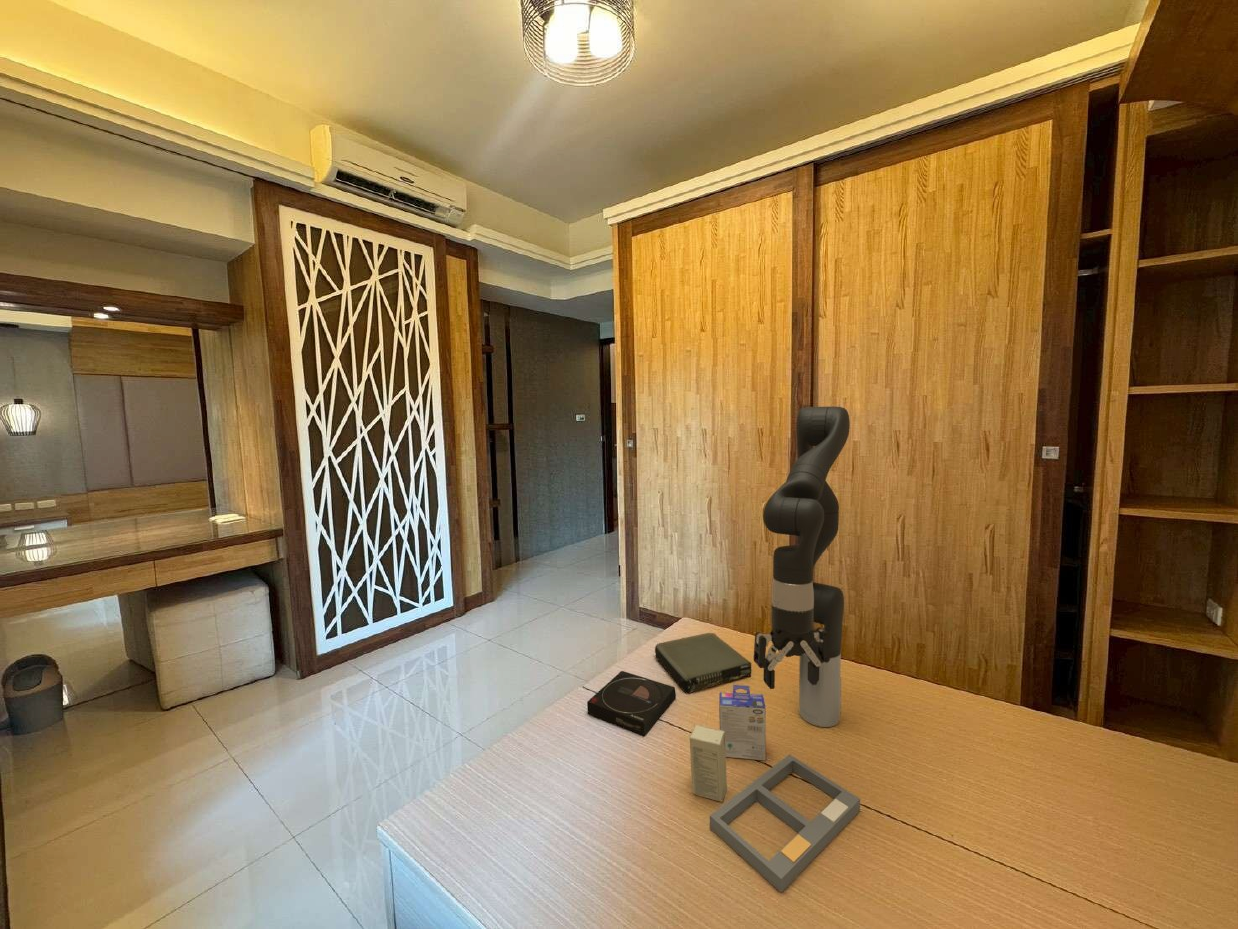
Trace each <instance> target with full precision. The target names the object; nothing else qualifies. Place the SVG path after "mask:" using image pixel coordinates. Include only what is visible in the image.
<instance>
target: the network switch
mask: <svg viewBox="0 0 1238 929" xmlns="http://www.w3.org/2000/svg"><path fill="white" fill-rule="evenodd" d="M654 653H655V658H656V659H657V661H658V662H659V663H660V664H661V666H662V667H664V669H665V670H666V671H667V672H668V673H669V675H670V676H671V678H672V679H674V681H675V682H676V684H678V686H679V688H681V689H682V691H683V692H684V693H685V694H690V693H693V692H696V691H699V690H703V689H704V688H711V687H713V686H716V685H720V684H725V683H728V682H732V681H735V680H738V679H743V678H745V677H747V676H748V678H749V677H751V675H752V662H751V661H750V660H748V659H747V658H746V657H744V656H743V655H742V654H740V653H739V652H738V651H737V650H735V649H734V648H733V647H732V646H730V645H729V644H727V643H726V642H725V641H724V640H723V639H722V638H720V637H719V636H718V635H717V634H716V633H715V632H714V633H713V632H706V633H702V634H697V635H691V636H687V637H682V638H678V639H677V638H676V639H673V640H668V641H663V642H659V643H657V644H655V647H654Z"/></svg>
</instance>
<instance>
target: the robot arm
mask: <svg viewBox="0 0 1238 929" xmlns="http://www.w3.org/2000/svg"><path fill="white" fill-rule="evenodd" d="M850 422H851V421H850V413H849V412H848V410H847V409H846V408H844V407H842V406H835V405H833V406H832V405H831V406H807V407H802V408H800V409H799V411H798V413H797V416H796V423H795V425H796V426H795V432H796V433H795V434H796V435H795V437H796V440H795V441H796V453H797V454H796V457H797V459H796V460H795V462H794V463H793V465H792V466H791V468H790V470H789V473H788V475H787V477H786V481H785V482H784V483H783V484H782V485H781V486H780V487H778V489H777V490H776V491H775V492H774V493H773V494H772V495H771V496H770V498H769V499H768V500H767V502H766V504H765V506H764V509H763V513H762V518H763V519H762V520H763V523H764V526H765V528H767V530H768V531H769V532H771V533H773V534H777V535H778V534H779V535H789V536H796V544H793V545H792V544H791V545H782V546H781V545H780V546H779V547H776V548H775V549H774V550H773V556H772V564H773V565H772V567H773V568H772V584H771V605H770V607H771V609H770V612H771V615H770V621H771V623H770V624H771V629H770V632H769V633H761V632H759V631H756V632H755V634H754V646H753V662H754V663H755V664H756V665H757V666H758V668H760V669H763V683H764V684H765V686H767V687H768V688H769V689H770V690H774V689H775V687H776V686H775V685H776V684H775V681H776V680H775V678H776V674H775V673H776V671H775V668H776V667H777V665H778V663H781V662H782V660H783V659H784V658H785V657H786V658H791V657H793V656H795V657H799V658H798V659H799V663H798V664H799V666H798V667H799V668H798V669H799V675H798V676H799V677H798V678H799V679H798V680H799V682H798V683H799V684H798V685H799V687H798V691H799V692H798V712H799V715H800V717H801V718H802V719H803V720H804V721H805V722H807V723H809V724H811V725H814V726H816V727H821V728H831V727H834V726H836V725H838V724H839V722H840V719H841V718H840V717H841V714H842V712H841V711H842V677H841V672H842V671H841V667H842V665H841V663H842V659H841V658H842V656H841V655H842V640H843V622H844V611H845V610H844V609H845V596H844V593H843V591H842V589H841V588H840V587H837V586H833V585H829V584H824V583H819V582H814V581H813V578H814V577H813V576H814V575H813V573H814V568H815V566H816V564H817V562H818V561H819V559H820V557H821V556H822V555H823V553H824V552H825V551H826V550H827V549H828V548H829V546H830V545H831V544H832V543H833V541H834V540H835V538H836V537H837V534H838V531H839V523H840V521H839V520H840V518H839V517H840V516H839V515H840V505H839V501H838V498H837V496H836V494H835V493H834V491H833V490H832V488H831V487H830V485H829V484H828V482H827V481H826V480H827V477H828V475H829V472H830V470H831V468H832V467H833V465H834V463H835V462H836V461H837V459H838V457H839V455H840V454H841V452H842V451H843V448H844V447H845V445H846V443H847V440H848V438H849V434H850V428H851V427H850V425H851V423H850ZM814 623H816V624H820V625H823V628H821V627H819V626H818V627H817V628H815V629H814ZM770 642H771V645H770V644H769V643H770ZM769 645H770V646H769ZM768 646H769V647H768ZM777 651H778V652H777Z"/></svg>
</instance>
